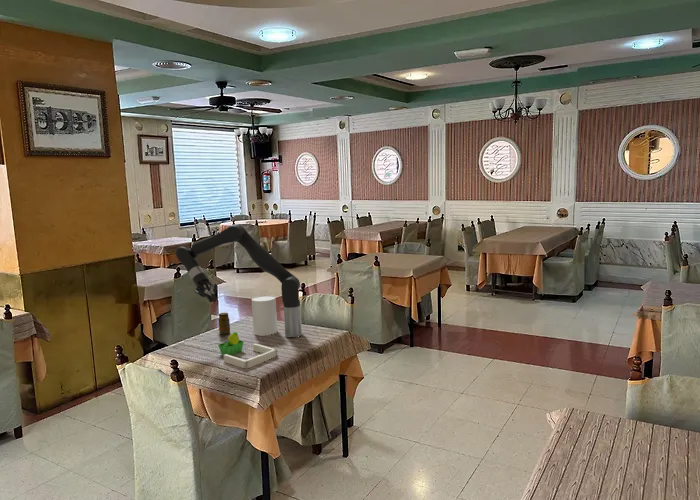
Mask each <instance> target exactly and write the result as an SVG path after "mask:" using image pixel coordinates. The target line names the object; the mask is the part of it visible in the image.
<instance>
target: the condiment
mask: <svg viewBox="0 0 700 500" xmlns="http://www.w3.org/2000/svg"><path fill="white" fill-rule="evenodd" d="M230 325H231V324H230V317H229V312H221V313H219V314H218V332H217V333H216V335H218V336H220V337H223V338H225V337H229V336H230V335H231V334H233V333H234V332H231V326H230Z"/></svg>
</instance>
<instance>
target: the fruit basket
mask: <svg viewBox="0 0 700 500" xmlns="http://www.w3.org/2000/svg"><path fill="white" fill-rule="evenodd" d="M232 333H233V334H231V335H230V334H229V335H230V336H227V341H226V342H222V343H219V344H217V345H218V348H219V351H220V353H221V355H222V356H224V355H225V354H228V355H231V356H233V355H234V354H238V353H240V352H242V351H243V346H244V344H245V341H244V340H240V337H239V335H238V334H239V333H237V332H236V331H235V332H232Z"/></svg>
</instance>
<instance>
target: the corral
mask: <svg viewBox="0 0 700 500" xmlns="http://www.w3.org/2000/svg"><path fill="white" fill-rule="evenodd" d="M252 346H253V351H254V352H257V353H259V352H260V354H259V355H256V356H252V357H251V358H248V359H243V358H241V357H236V356H234V355H228V354H225V355H223V362H224V363H226V364H229V365H232V366H235V367H238V368H242V369H244V370H247V369H249V368H251V367H255V366H258V365H259V364H262V363H264V361H265V362H267V361H269V359H270V360H271V358H272V359H274V358H277V357H279V356H278V349H276V348H274V347H269V346H267V345H262V344H260V343H252ZM276 356H277V357H276ZM273 357H274V358H273Z"/></svg>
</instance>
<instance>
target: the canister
mask: <svg viewBox="0 0 700 500" xmlns="http://www.w3.org/2000/svg"><path fill="white" fill-rule="evenodd" d="M251 311H252V312H251V313H252V326H253V335H255V336H259V337H260V336H261V337H262V336H263V337H264V336H265V335H266V336H271V334H272V335H275V334H277V333H278V319H277V317H278V316H277V301H276V296H274V295H269V294H268V295H258V296H253V297H252V298H251ZM274 333H275V334H274Z"/></svg>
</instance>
